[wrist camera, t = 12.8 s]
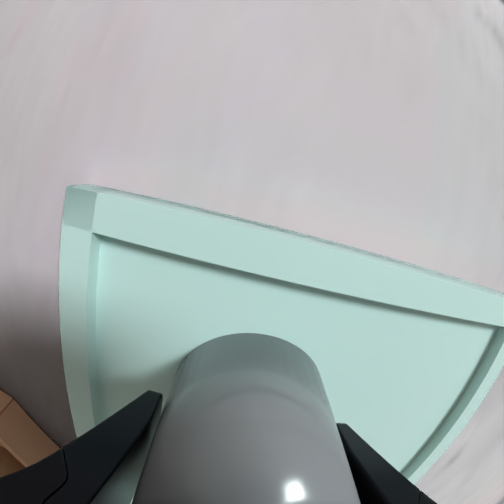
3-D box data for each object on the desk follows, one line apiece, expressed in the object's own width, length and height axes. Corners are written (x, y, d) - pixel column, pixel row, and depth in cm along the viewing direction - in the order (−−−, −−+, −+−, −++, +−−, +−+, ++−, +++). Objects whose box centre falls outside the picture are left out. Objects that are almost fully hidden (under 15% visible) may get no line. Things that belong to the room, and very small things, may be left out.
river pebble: (32, 465, 11) (3, 514, 6) (48, 493, 12) (27, 536, 7) (-15, 433, 10) (-46, 473, 5) (4, 466, 11) (-20, 502, 6)
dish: (70, 429, 10) (49, 464, 7) (100, 517, 13) (92, 539, 10) (-68, 333, 9) (-90, 348, 7) (-19, 447, 12) (-31, 463, 10)
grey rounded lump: (344, 348, 8) (411, 487, 3) (294, 446, 9) (309, 561, 4) (185, 315, 8) (119, 465, 3) (168, 424, 9) (134, 543, 4)
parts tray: (512, 296, 8) (530, 306, 7) (350, 521, 12) (353, 534, 11) (89, 184, 7) (66, 185, 6) (103, 490, 11) (97, 503, 10)
